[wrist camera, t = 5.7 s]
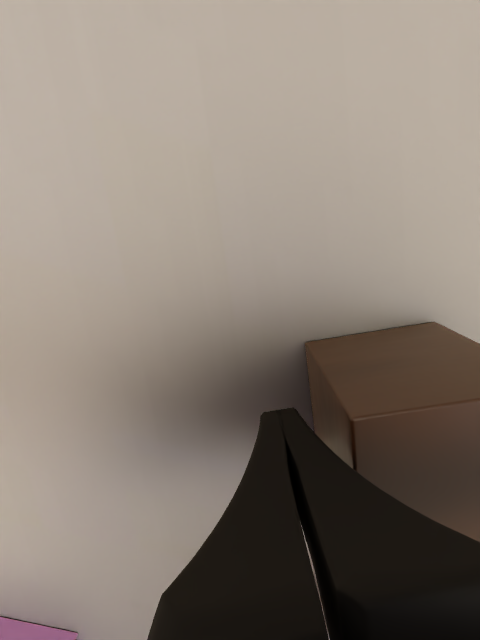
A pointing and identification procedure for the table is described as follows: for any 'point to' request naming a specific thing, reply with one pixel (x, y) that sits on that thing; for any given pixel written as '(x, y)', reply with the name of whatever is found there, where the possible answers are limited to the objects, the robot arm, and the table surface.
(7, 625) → the purple pedestal chair
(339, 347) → the walnut block
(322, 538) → the robot arm
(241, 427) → the table surface
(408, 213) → the table surface
